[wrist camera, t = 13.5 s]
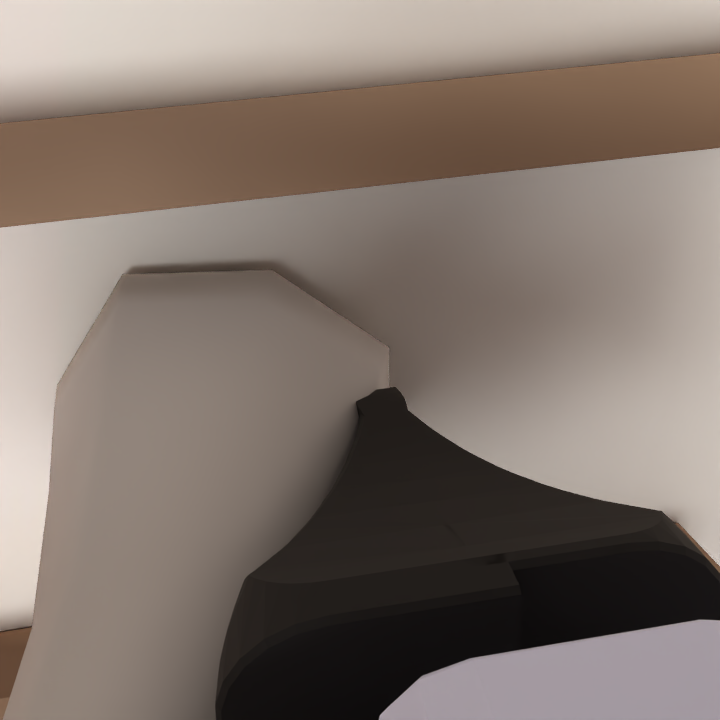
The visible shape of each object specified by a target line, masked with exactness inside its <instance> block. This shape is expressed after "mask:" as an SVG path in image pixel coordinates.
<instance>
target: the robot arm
mask: <svg viewBox="0 0 720 720" xmlns="http://www.w3.org/2000/svg"><path fill="white" fill-rule="evenodd" d="M356 405H357V411H358V415H359V425H358V428H357V432H356V435H355V439H354V442H353V445H352V447H351V450H350V452H349V455H348V457H347V459H346V462H345V464H344V466H343V468H342V470H341V473H340V475H339V476H338V478H337V480H336V482H335V484H334V485H333V487H332V489H331V490H330V492H329V494H328V495H327V497H326V498H325V499H324V501H323V502H322V504H321V505H320V507H319V508H318V510H317V511H316V512H315V514H314V515H313V516H312V517H311V519H310V520H309V521H308V522H307V523H306V525H305V526H304V527H303V528H302V529H301V530H300V531H299V532H298V533H297V534H296V535H295V536H294V537H293V539H292V540H291V541H290V542H289V543H288V544H287V545H286V546H284V547H283V548H282V549H281V550H280V551H279V552H277V553H276V554H275V555H274V556H272V557H271V558H270V559H268V560H267V561H266V562H265V563H263V564H262V565H261V566H260V567H258V568H257V569H256V570H255V571H253V572H252V573H250V574H249V575H248V576H247V577H246V578H245V580H244V582H243V584H242V587H241V590H240V592H239V595H238V598H237V601H236V603H235V606H234V609H233V612H232V616H231V619H230V622H229V625H228V629H227V632H226V637H225V641H224V645H223V649H222V653H221V658H220V664H219V671H218V681H217V691H216V701H215V713H216V720H720V573H719V572H718V570H717V569H716V568H715V567H714V566H713V565H712V564H711V562H710V561H709V560H708V559H707V558H706V557H705V556H704V554H703V553H702V552H701V551H700V550H699V549H698V548H697V547H696V545H695V544H694V543H693V542H692V541H691V540H690V539H689V538H688V536H687V535H686V534H685V533H684V532H683V531H682V530H681V529H680V528H679V527H678V526H677V525H676V524H675V523H674V522H673V521H672V520H671V519H670V518H668V517H667V516H666V515H665V514H664V513H663V512H662V511H657V510H651V509H646V508H640V507H635V506H629V505H624V504H618V503H613V502H607V501H602V500H598V499H593V498H590V497H586V496H582V495H578V494H574V493H570V492H567V491H563V490H560V489H557V488H553V487H550V486H547V485H544V484H541V483H538V482H535V481H533V480H530V479H527V478H525V477H522V476H519V475H517V474H514V473H511V472H509V471H507V470H504V469H502V468H500V467H497V466H495V465H493V464H491V463H489V462H487V461H485V460H483V459H481V458H479V457H477V456H475V455H473V454H471V453H470V452H468V451H466V450H464V449H462V448H461V447H459V446H457V445H456V444H454V443H453V442H451V441H450V440H448V439H446V438H445V437H443V436H442V435H440V434H439V433H437V432H436V431H434V430H433V429H431V428H430V427H429V426H427V425H426V424H425V423H423V422H422V421H421V420H419V419H418V418H417V417H416V416H414V415H413V414H412V413H411V412H410V411H408V409H407V406H406V402H405V399H404V397H403V396H402V394H401V393H400V392H399V391H398V390H397V388H396V387H392V388H384V389H376V390H375V391H373V392H372V393H371V394H370V395H368V396H366V397H364V398H362V399H360V400H358V401H356Z"/></svg>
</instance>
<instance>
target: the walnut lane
mask: <svg viewBox="0 0 720 720" xmlns="http://www.w3.org/2000/svg"><path fill="white" fill-rule="evenodd" d="M713 148H720V53H715V54H705V55H694V56H684V57H674V58H664V59H653V60H643V61H633V62H623V63H612V64H602V65H592V66H582V67H571V68H561V69H551V70H541V71H531V72H520V73H510V74H500V75H490V76H479V77H469V78H459V79H449V80H438V81H428V82H418V83H408V84H397V85H387V86H377V87H367V88H356V89H346V90H336V91H326V92H316V93H305V94H295V95H285V96H275V97H264V98H254V99H244V100H234V101H223V102H213V103H203V104H193V105H182V106H172V107H162V108H152V109H141V110H131V111H121V112H111V113H100V114H90V115H80V116H70V117H60V118H49V119H39V120H29V121H19V122H8V123H0V227H8V226H18V225H27V224H36V223H45V222H54V221H63V220H72V219H81V218H90V217H99V216H108V215H117V214H126V213H135V212H144V211H153V210H162V209H171V208H180V207H189V206H198V205H207V204H216V203H225V202H234V201H243V200H252V199H261V198H270V197H279V196H288V195H297V194H306V193H315V192H324V191H334V190H343V189H352V188H361V187H370V186H379V185H388V184H397V183H406V182H415V181H424V180H433V179H442V178H451V177H460V176H469V175H478V174H487V173H496V172H505V171H514V170H523V169H532V168H541V167H550V166H559V165H568V164H577V163H586V162H595V161H604V160H613V159H622V158H631V157H640V156H650V155H659V154H668V153H677V152H686V151H695V150H704V149H713ZM675 524H676V525H677V526H678V527H679V528H680V529H681V530H682V531H683V532H684V533H685V534H686V535H687V536H688V538H689V539H690V540H691V541H692V542H693V543H694V544H695V545H696V547H697V548H698V549H699V550H700V551H701V552H702V553H703V554H704V556H705V557H706V558H707V559H708V560H709V561H710V562H711V564H712V565H713V566H714V567H715V568H716V569H717V570H718V572H719V573H720V566H719V565H718V564H717V563H716V562H715V561H714V560H713V559H712V558H711V557H710V556H709V555H708V554H707V553H706V552H705V551H704V550H703V549H702V547H701V546H700V545H699V544H698V543H697V542H696V541H695V540H694V539H693V538H692V537H691V536H690V535H689V534H688V533H687V532H686V531H685V530H684V529H683V528H682V526H681V525H680V524H679V523H675ZM31 629H32V627H30V628H24V629H18V630H12V631H6V632H0V720H3V717H4V714H5V711H6V708H7V705H8V702H9V699H10V695H11V692H12V689H13V686H14V683H15V680H16V677H17V673H18V670H19V667H20V664H21V661H22V658H23V655H24V651H25V648H26V645H27V642H28V639H29V636H30V633H31Z"/></svg>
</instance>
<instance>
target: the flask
mask: <svg viewBox="0 0 720 720" xmlns="http://www.w3.org/2000/svg"><path fill="white" fill-rule="evenodd" d="M384 388H389V347H388V346H386V345H385V344H383V343H382V342H380V341H379V340H377V339H376V338H374V337H373V336H371V335H370V334H368V333H367V332H365V331H364V330H362V329H361V328H359V327H358V326H356V325H355V324H353V323H352V322H350V321H349V320H347V319H346V318H344V317H343V316H341V315H340V314H338V313H336V312H335V311H333V310H332V309H330V308H329V307H327V306H326V305H324V304H323V303H321V302H320V301H318V300H317V299H315V298H314V297H312V296H311V295H309V294H308V293H306V292H305V291H303V290H302V289H300V288H299V287H297V286H296V285H294V284H293V283H291V282H290V281H288V280H287V279H285V278H284V277H282V276H281V275H279V274H278V273H276V272H274V271H273V270H247V271H215V272H183V273H152V274H123V275H122V276H121V278H120V280H119V281H118V283H117V285H116V286H115V288H114V290H113V292H112V293H111V295H110V297H109V298H108V300H107V302H106V303H105V305H104V307H103V308H102V310H101V312H100V314H99V315H98V317H97V319H96V320H95V322H94V324H93V325H92V327H91V329H90V331H89V332H88V334H87V336H86V337H85V339H84V341H83V342H82V344H81V346H80V347H79V349H78V351H77V353H76V354H75V356H74V358H73V359H72V361H71V363H70V364H69V366H68V368H67V370H66V371H65V373H64V375H63V376H62V378H61V380H60V381H59V383H58V385H57V391H56V399H55V407H54V419H53V435H52V451H51V467H50V483H49V495H48V503H47V511H46V519H45V527H44V535H43V543H42V551H41V559H40V567H39V575H38V583H37V590H36V598H35V606H34V614H33V622H32V629H31V633H30V636H29V639H28V642H27V645H26V648H25V651H24V655H23V658H22V661H21V664H20V667H19V670H18V673H17V677H16V680H15V683H14V686H13V689H12V692H11V695H10V699H9V702H8V705H7V708H6V711H5V714H4V717H3V720H216V713H215V701H216V691H217V681H218V671H219V664H220V658H221V653H222V649H223V645H224V641H225V637H226V632H227V629H228V625H229V622H230V619H231V616H232V612H233V609H234V606H235V603H236V601H237V598H238V595H239V592H240V590H241V587H242V584H243V582H244V580H245V578H246V577H247V576H248V575H249V574H250V573H252V572H253V571H255V570H256V569H257V568H258V567H260V566H261V565H262V564H263V563H265V562H266V561H267V560H268V559H270V558H271V557H272V556H274V555H275V554H276V553H277V552H279V551H280V550H281V549H282V548H283V547H284V546H286V545H287V544H288V543H289V542H290V541H291V540H292V539H293V537H294V536H295V535H296V534H297V533H298V532H299V531H300V530H301V529H302V528H303V527H304V526H305V525H306V523H307V522H308V521H309V520H310V519H311V517H312V516H313V515H314V514H315V512H316V511H317V510H318V508H319V507H320V505H321V504H322V502H323V501H324V499H325V498H326V497H327V495H328V494H329V492H330V490H331V489H332V487H333V485H334V484H335V482H336V480H337V478H338V476H339V475H340V473H341V470H342V468H343V466H344V464H345V462H346V459H347V457H348V455H349V452H350V450H351V447H352V445H353V442H354V439H355V435H356V432H357V428H358V425H359V415H358V411H357V405H356V401H358V400H360V399H362V398H364V397H366V396H368V395H370V394H371V393H372V392H373V391H375V390H376V389H384Z"/></svg>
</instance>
